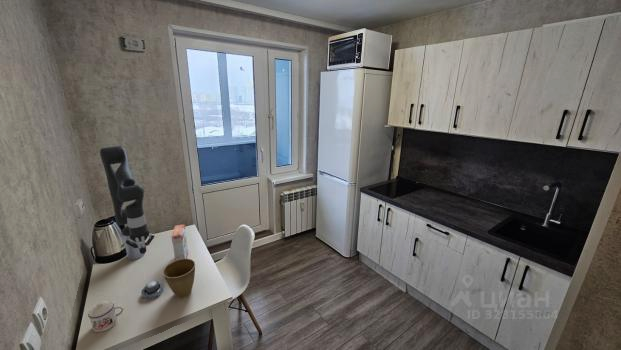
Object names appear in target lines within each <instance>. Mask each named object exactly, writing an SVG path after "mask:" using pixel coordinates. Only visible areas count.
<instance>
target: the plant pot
mask: <svg viewBox="0 0 621 350" xmlns="http://www.w3.org/2000/svg"><path fill="white" fill-rule="evenodd" d="M195 272H196V263H195V261H194V260H193V259H190V258H187V259H179V260H176V261H175V260H174V261H172V262H170V263H168V264H167V265H165V267H164V268H163V270H162V275H163V277H164V280H165V281H166V283H167V286H168V287H169V289H170V290H171V291H172V293H173V295H175V297H176V298H180V299H181V298H185V297H188V296H190V294H191V292H192V289H193V287H194V286H193V285H194V281H195V275H196V273H195Z"/></svg>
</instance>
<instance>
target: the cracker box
mask: <svg viewBox="0 0 621 350" xmlns="http://www.w3.org/2000/svg"><path fill="white" fill-rule="evenodd" d="M171 242H172V248H173V254H174V261H176V260H179V259H188V255H189V247H188V237H187V232H186V225H185V224H178V225H174V229H173V231H172V234H171Z"/></svg>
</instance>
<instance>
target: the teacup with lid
mask: <svg viewBox="0 0 621 350" xmlns="http://www.w3.org/2000/svg"><path fill="white" fill-rule="evenodd" d="M117 309H121V310H120V312H118V313H116V310H117ZM123 312H124V307H123V306H122V305H117V306H115V303H114V302H113V301H111V300H110V301H109V300H105V301H101V302H99V303H96V304H95V305H93V306H92V307H91V308H90V309H89V310H88V313H87V317H89V319H90V324H91V327H92V329H93V332H96V333H103V332H105V331H107V330H109V329H111V328H112V327H114V326H115V325H116V323H117V322H118V317H119V316H120V315H122V314H123Z"/></svg>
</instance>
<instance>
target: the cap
mask: <svg viewBox="0 0 621 350" xmlns="http://www.w3.org/2000/svg"><path fill="white" fill-rule="evenodd" d="M158 282H159V281H155V280H154V281H153V280H152V281H150V282H148V283H146V285H145V286H144V287H146V294H151V293H154V292H156V291H157V290H158V289H159V286H158Z"/></svg>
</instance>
